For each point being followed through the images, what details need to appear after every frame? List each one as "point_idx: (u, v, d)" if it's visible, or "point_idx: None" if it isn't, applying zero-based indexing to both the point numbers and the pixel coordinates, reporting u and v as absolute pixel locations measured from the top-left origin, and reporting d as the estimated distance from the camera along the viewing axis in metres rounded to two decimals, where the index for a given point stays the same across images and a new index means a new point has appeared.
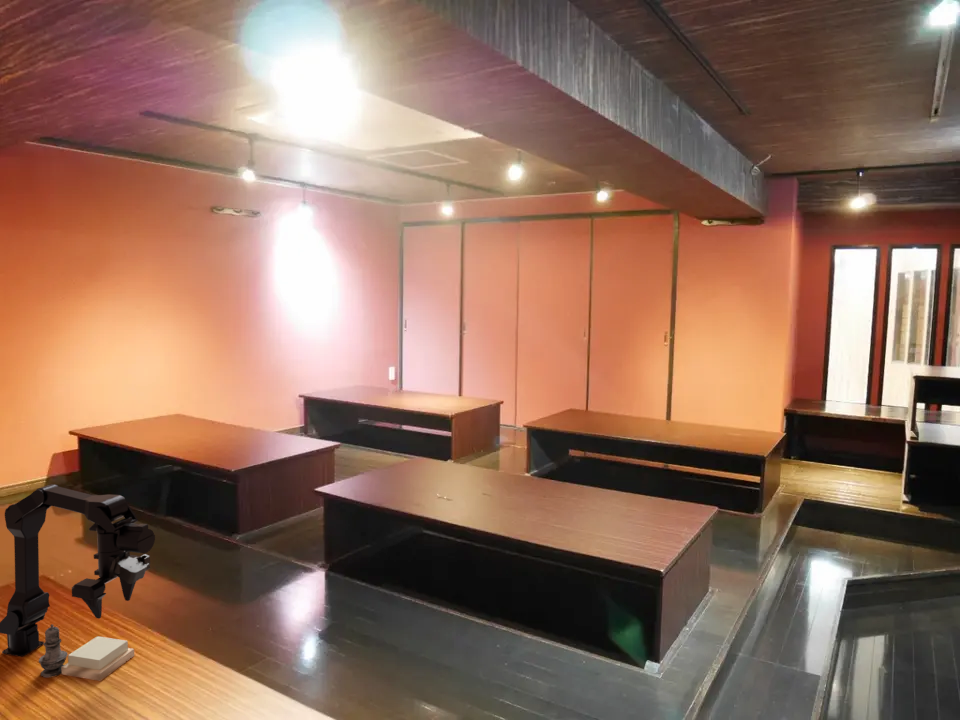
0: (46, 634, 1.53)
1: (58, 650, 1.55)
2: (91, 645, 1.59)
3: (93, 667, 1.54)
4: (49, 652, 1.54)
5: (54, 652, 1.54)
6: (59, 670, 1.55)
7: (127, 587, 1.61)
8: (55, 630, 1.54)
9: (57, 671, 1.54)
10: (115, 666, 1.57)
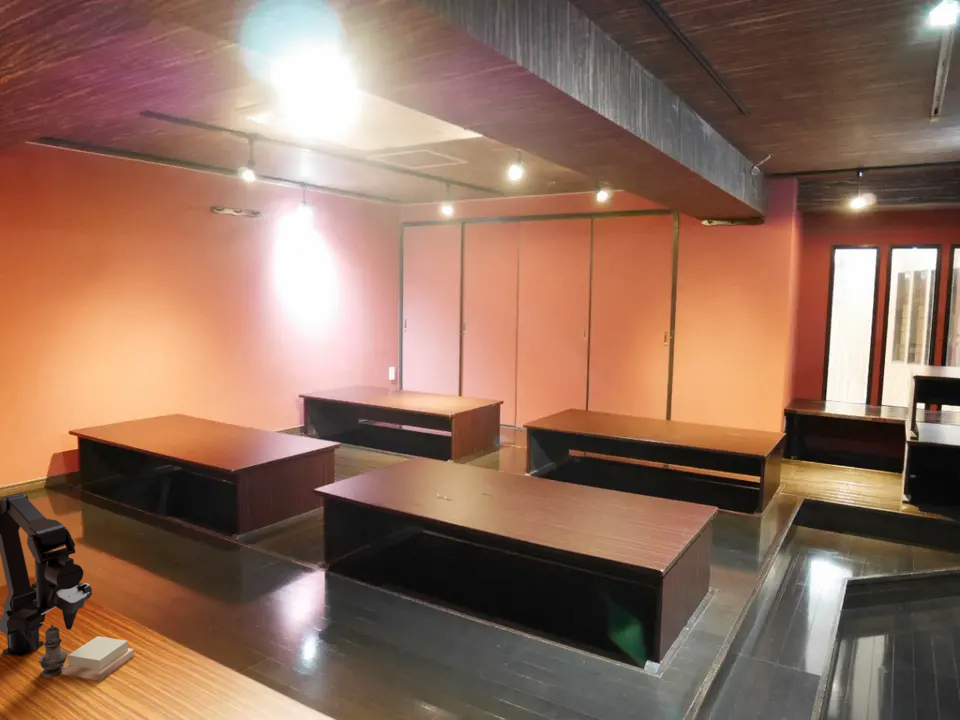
0: (46, 634, 1.53)
1: (58, 650, 1.55)
2: (91, 645, 1.59)
3: (93, 667, 1.54)
4: (49, 652, 1.53)
5: (54, 652, 1.54)
6: (59, 670, 1.55)
7: (68, 615, 1.59)
8: (55, 630, 1.54)
9: (57, 671, 1.54)
10: (116, 666, 1.57)
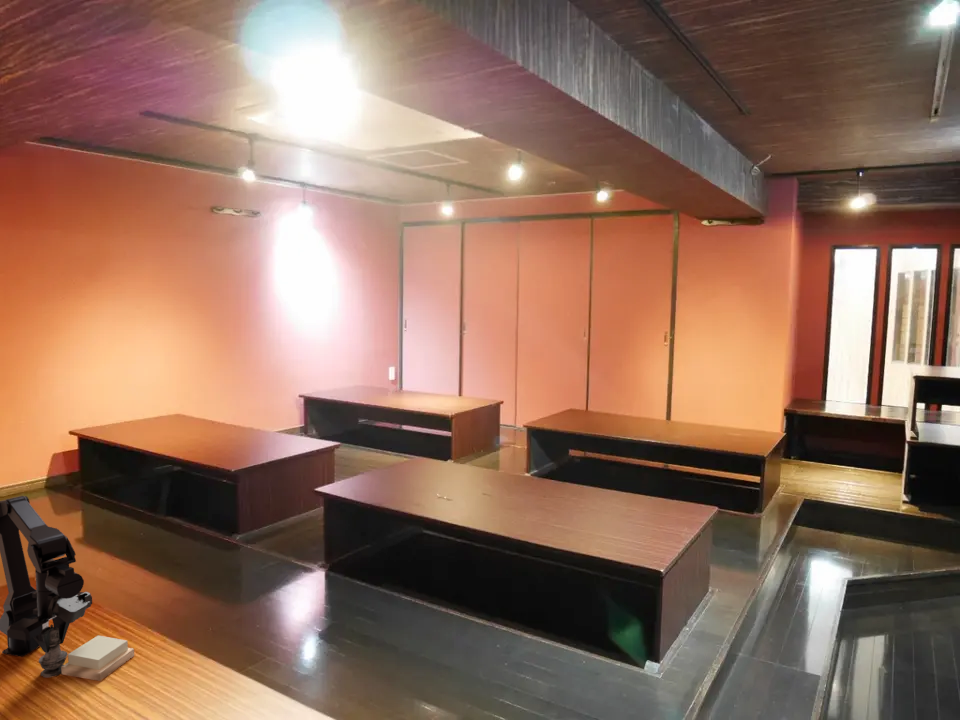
0: None
1: (58, 650, 1.55)
2: (91, 644, 1.60)
3: (92, 667, 1.54)
4: (49, 652, 1.53)
5: (54, 652, 1.54)
6: (59, 670, 1.55)
7: (60, 630, 1.56)
8: (55, 630, 1.54)
9: (57, 671, 1.54)
10: (115, 665, 1.57)
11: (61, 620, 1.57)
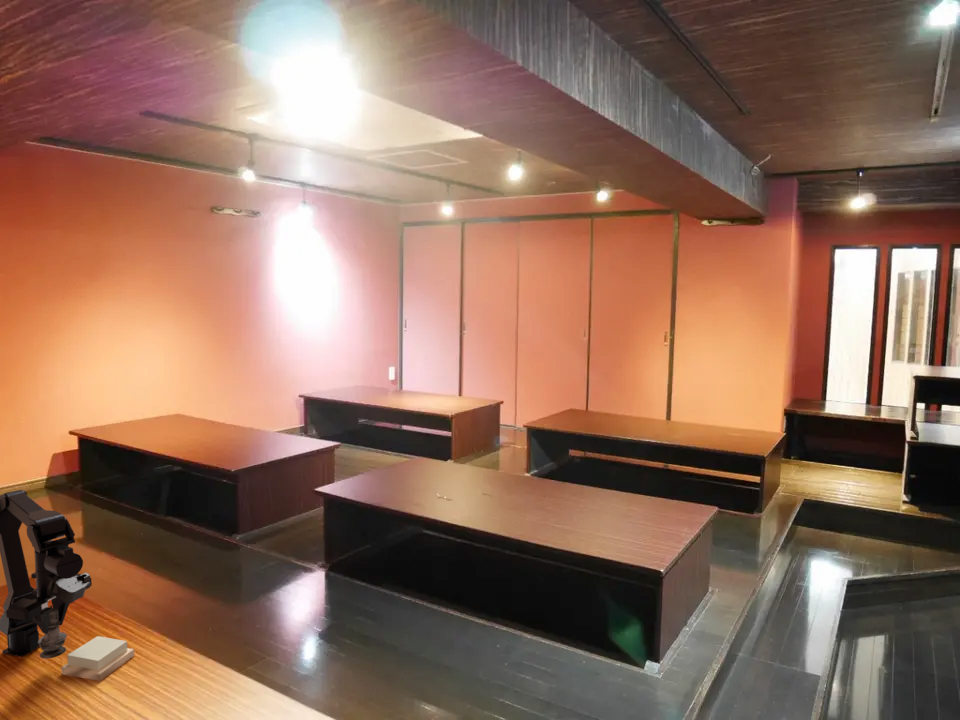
0: None
1: (57, 631, 1.54)
2: (91, 645, 1.59)
3: (92, 667, 1.54)
4: (48, 634, 1.53)
5: (53, 634, 1.53)
6: (58, 651, 1.54)
7: (59, 611, 1.56)
8: (54, 611, 1.54)
9: (56, 652, 1.54)
10: (116, 666, 1.57)
11: (60, 601, 1.56)
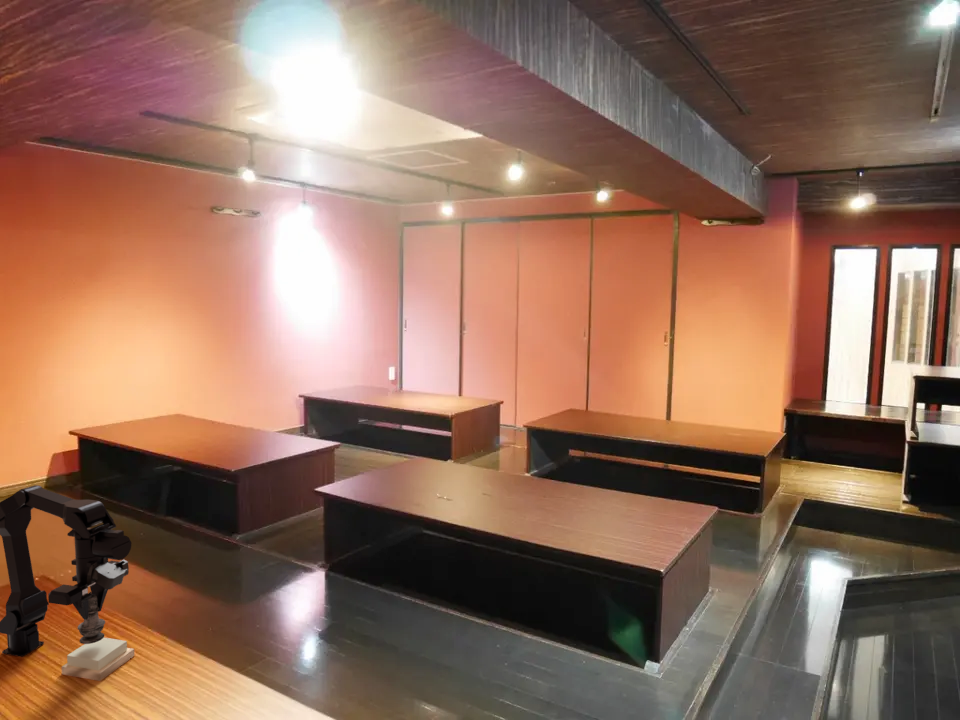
0: None
1: (96, 617, 1.57)
2: (90, 645, 1.59)
3: (92, 668, 1.53)
4: (87, 619, 1.55)
5: (92, 619, 1.56)
6: (97, 637, 1.57)
7: (98, 597, 1.58)
8: (93, 597, 1.56)
9: (95, 638, 1.56)
10: (115, 666, 1.57)
11: (99, 588, 1.58)
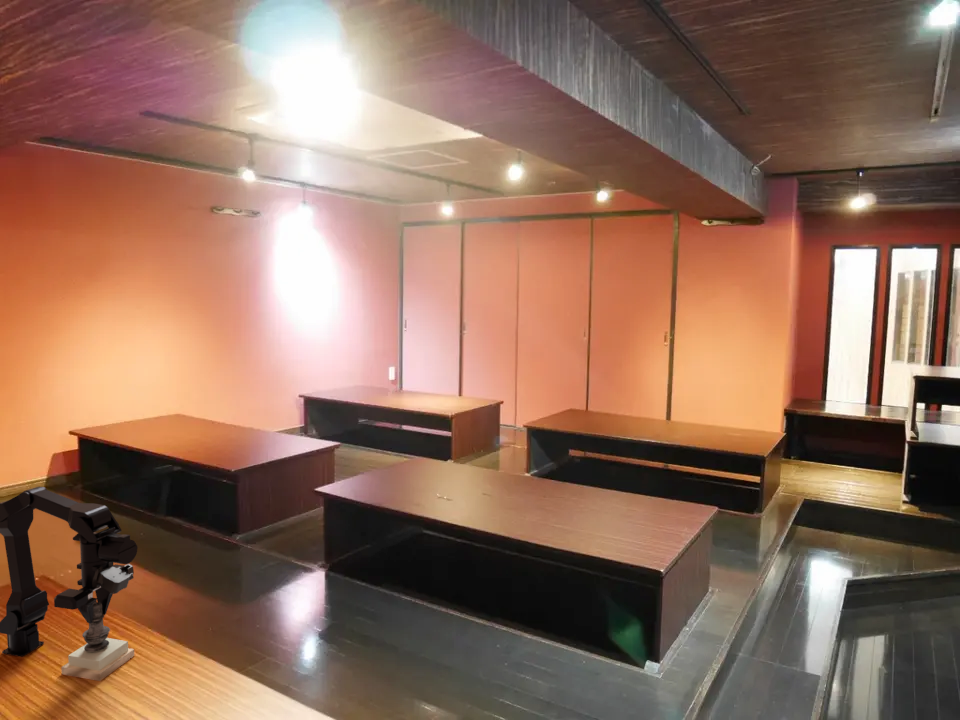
0: None
1: (101, 625, 1.57)
2: None
3: (93, 668, 1.53)
4: (92, 627, 1.56)
5: (97, 627, 1.57)
6: (102, 645, 1.58)
7: (103, 601, 1.59)
8: (98, 605, 1.57)
9: (100, 646, 1.57)
10: (115, 666, 1.57)
11: (104, 592, 1.59)
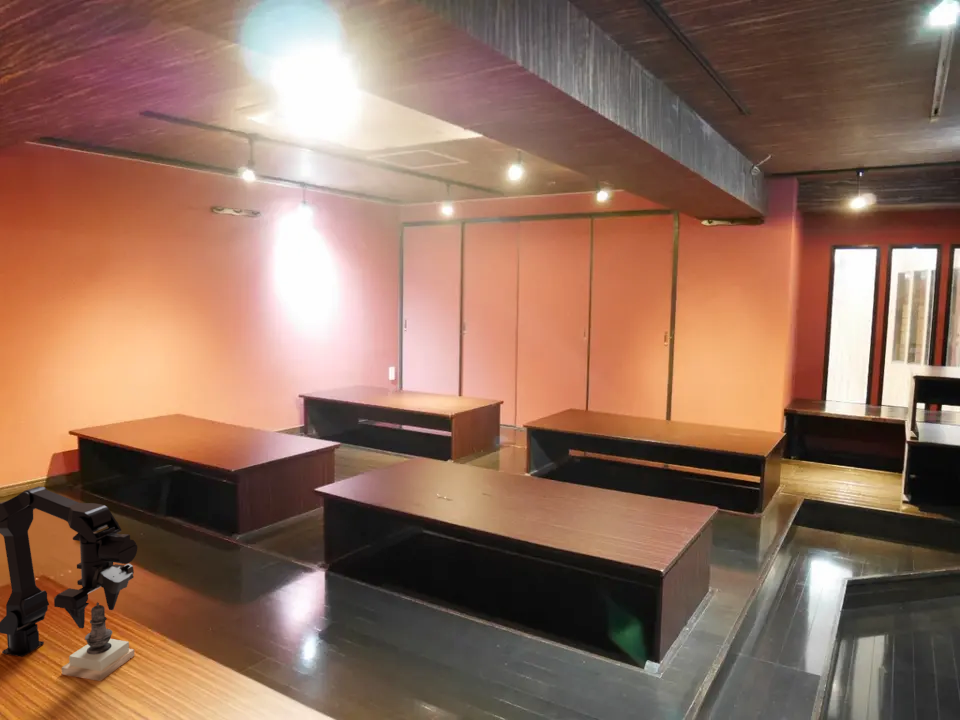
0: (92, 612, 1.56)
1: (104, 628, 1.58)
2: None
3: (94, 668, 1.53)
4: (95, 630, 1.56)
5: (100, 630, 1.57)
6: (105, 647, 1.58)
7: (111, 596, 1.62)
8: (101, 608, 1.57)
9: (103, 648, 1.57)
10: (116, 666, 1.57)
11: None
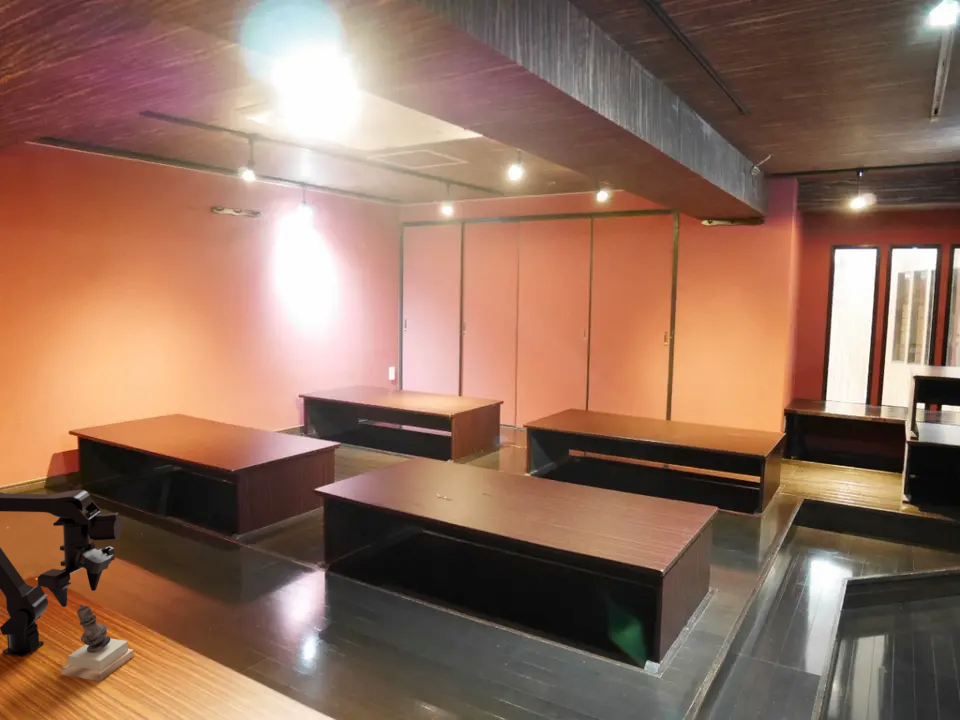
0: (81, 614, 1.54)
1: (97, 624, 1.57)
2: None
3: (94, 668, 1.53)
4: (90, 629, 1.56)
5: (95, 627, 1.56)
6: (105, 640, 1.59)
7: (93, 577, 1.70)
8: (87, 607, 1.56)
9: (104, 641, 1.58)
10: (115, 666, 1.57)
11: None
